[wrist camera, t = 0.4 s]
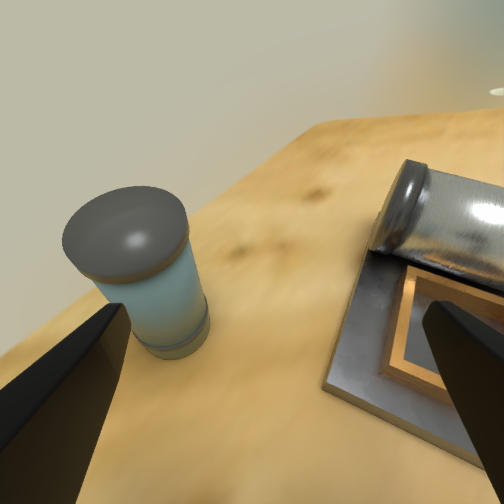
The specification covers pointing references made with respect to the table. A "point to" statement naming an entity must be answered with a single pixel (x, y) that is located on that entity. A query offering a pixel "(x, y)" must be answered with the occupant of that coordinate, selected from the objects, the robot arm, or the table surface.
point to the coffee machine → (419, 300)
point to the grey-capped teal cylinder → (143, 265)
